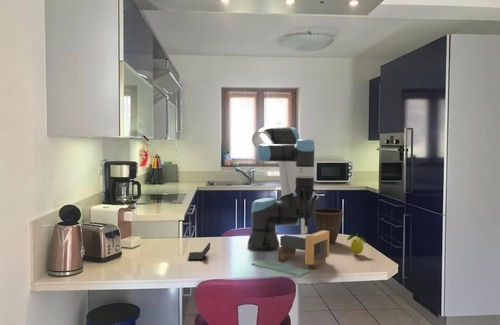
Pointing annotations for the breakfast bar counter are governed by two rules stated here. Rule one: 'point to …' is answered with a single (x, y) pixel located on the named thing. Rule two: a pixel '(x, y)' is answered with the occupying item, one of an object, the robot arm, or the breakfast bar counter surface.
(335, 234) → the plant pot
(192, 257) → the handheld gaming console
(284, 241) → the grey rectangular bar
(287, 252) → the cradle
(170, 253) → the breakfast bar counter surface
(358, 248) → the lemon
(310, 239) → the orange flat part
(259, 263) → the mat
